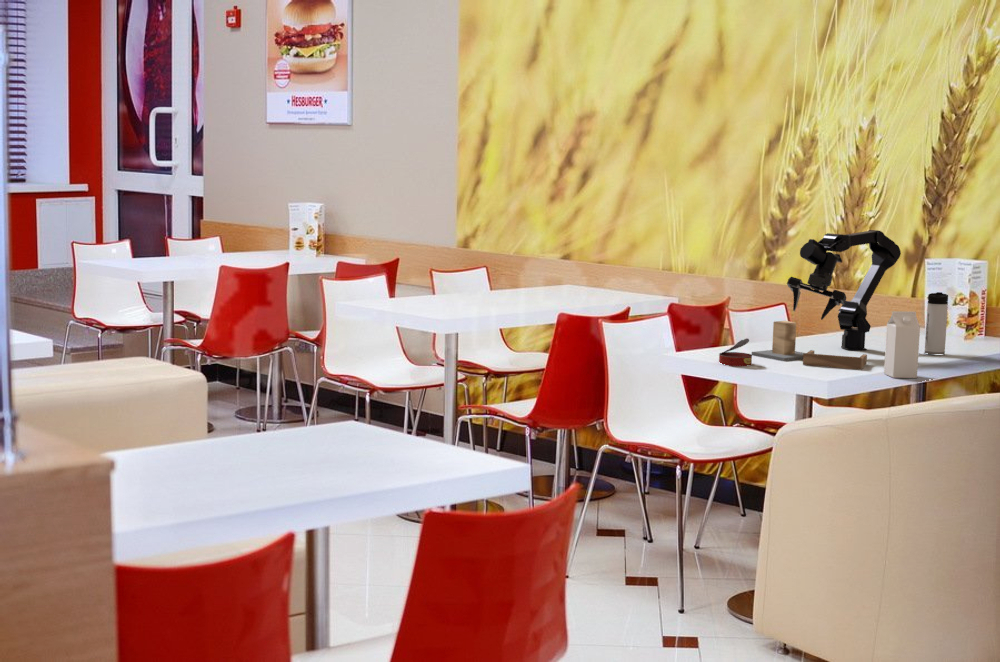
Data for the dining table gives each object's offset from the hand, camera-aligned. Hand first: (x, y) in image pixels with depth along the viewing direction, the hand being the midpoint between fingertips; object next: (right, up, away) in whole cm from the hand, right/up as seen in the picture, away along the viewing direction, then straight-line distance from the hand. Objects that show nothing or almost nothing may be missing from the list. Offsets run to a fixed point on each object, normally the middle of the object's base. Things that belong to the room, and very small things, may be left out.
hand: (807, 315), depth 413 cm
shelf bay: (+4, -15, -20) cm, 25 cm away
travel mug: (+43, -13, +5) cm, 45 cm away
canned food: (-27, -15, -21) cm, 38 cm away
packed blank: (-9, -12, -5) cm, 16 cm away
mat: (-9, -13, -5) cm, 17 cm away
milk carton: (+18, -19, -39) cm, 47 cm away
